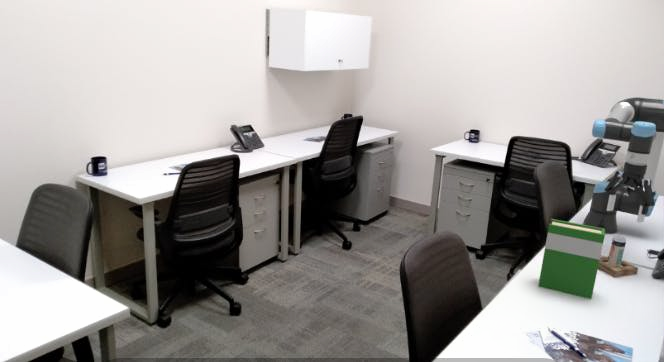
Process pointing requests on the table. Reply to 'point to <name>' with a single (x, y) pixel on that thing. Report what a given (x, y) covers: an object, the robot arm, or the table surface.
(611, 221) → the robot arm
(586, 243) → the hardback book
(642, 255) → the table surface
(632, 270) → the picture frame
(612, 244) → the beer can
